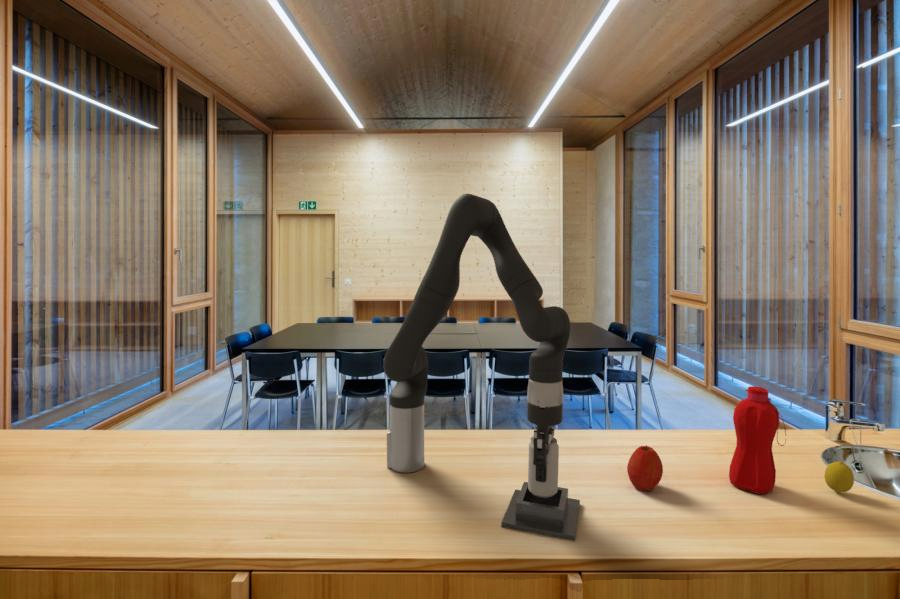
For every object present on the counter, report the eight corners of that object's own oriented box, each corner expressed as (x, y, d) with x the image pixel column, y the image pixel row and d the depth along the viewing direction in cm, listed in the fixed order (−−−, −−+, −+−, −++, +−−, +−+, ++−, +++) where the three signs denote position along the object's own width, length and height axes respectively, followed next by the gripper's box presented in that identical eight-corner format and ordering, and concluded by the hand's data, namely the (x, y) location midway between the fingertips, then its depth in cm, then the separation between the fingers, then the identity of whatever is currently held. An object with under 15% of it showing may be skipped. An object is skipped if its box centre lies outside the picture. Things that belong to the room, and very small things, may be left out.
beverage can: (557, 501, 104) (559, 446, 102) (527, 497, 105) (528, 443, 104) (557, 486, 110) (558, 435, 109) (528, 483, 111) (529, 432, 110)
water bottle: (778, 502, 114) (786, 397, 111) (725, 486, 121) (732, 387, 119) (785, 487, 121) (792, 388, 118) (734, 474, 128) (741, 380, 125)
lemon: (846, 489, 120) (849, 458, 119) (856, 500, 114) (859, 468, 114) (819, 486, 121) (822, 455, 121) (828, 496, 116) (831, 464, 115)
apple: (666, 497, 116) (668, 453, 115) (629, 493, 117) (631, 450, 116) (657, 481, 124) (659, 440, 123) (623, 478, 125) (625, 437, 124)
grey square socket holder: (501, 526, 103) (501, 506, 103) (515, 493, 117) (515, 475, 117) (574, 540, 98) (575, 519, 98) (579, 504, 112) (580, 485, 112)
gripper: (532, 388, 113) (531, 458, 115) (521, 407, 100) (520, 486, 101) (566, 392, 111) (563, 463, 112) (559, 411, 97) (556, 492, 99)
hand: (543, 473), depth 107 cm, fingers closed on beverage can, 6 cm apart
